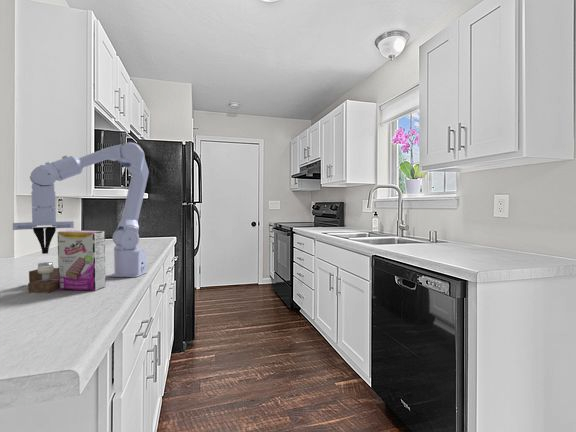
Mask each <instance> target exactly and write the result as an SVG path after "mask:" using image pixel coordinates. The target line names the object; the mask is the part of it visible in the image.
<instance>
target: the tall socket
mask: <svg viewBox="0 0 576 432" xmlns="http://www.w3.org/2000/svg"><path fill="white" fill-rule="evenodd" d="M53 271H54V272H51V273H49V279H59V274H58V267H53ZM38 280H42V274H39V273H38V268H37V269H33V270H29V271H28V282H29V283H32V282H35V281H38Z"/></svg>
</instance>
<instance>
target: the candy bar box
mask: <svg viewBox="0 0 576 432" xmlns="http://www.w3.org/2000/svg"><path fill="white" fill-rule="evenodd" d="M105 232H106V231H105V230H104V231H103V230H73V229H72V230H71V229H70V230H61V231H57V262H58V263H57V266H58V267H57V268H58V274H59V289H58V290H61V291H62V290H63V291H85V292H86V291H87V292H88V291H90V292H91V291H92V292H94V291H99V290H101V289H104V288H106V238H105V236H106V235H105V234H106V233H105Z"/></svg>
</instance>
